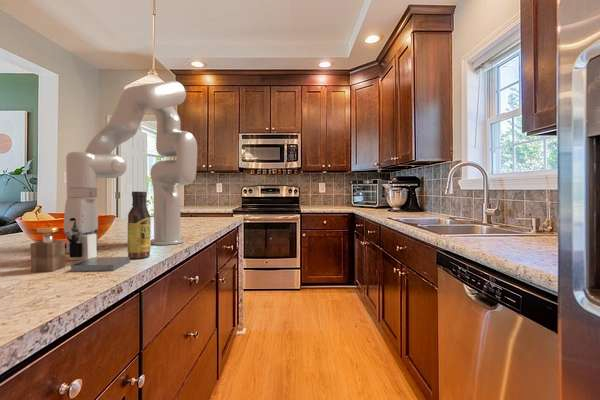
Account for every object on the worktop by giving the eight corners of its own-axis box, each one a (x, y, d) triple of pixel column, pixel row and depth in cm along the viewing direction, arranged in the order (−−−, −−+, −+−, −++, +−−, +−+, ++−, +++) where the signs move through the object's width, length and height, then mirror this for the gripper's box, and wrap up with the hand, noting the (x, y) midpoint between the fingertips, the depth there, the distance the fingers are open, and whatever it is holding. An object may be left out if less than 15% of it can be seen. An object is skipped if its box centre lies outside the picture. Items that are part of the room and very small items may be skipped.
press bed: (92, 262, 91) (92, 257, 91) (130, 262, 92) (129, 256, 92) (70, 271, 81) (70, 265, 81) (113, 270, 82) (113, 264, 82)
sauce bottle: (144, 259, 96) (143, 191, 95) (123, 259, 96) (122, 191, 95) (154, 255, 102) (154, 191, 102) (134, 255, 102) (134, 191, 102)
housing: (79, 256, 100) (78, 233, 100) (96, 256, 100) (96, 233, 100) (69, 260, 95) (69, 235, 95) (87, 260, 95) (87, 235, 95)
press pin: (44, 252, 85) (44, 227, 85) (62, 252, 86) (62, 227, 86) (32, 255, 81) (32, 229, 81) (51, 255, 82) (51, 229, 81)
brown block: (44, 267, 86) (44, 240, 86) (65, 266, 86) (64, 240, 86) (31, 271, 81) (30, 243, 81) (52, 271, 81) (52, 243, 81)
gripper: (85, 194, 105) (85, 249, 106) (49, 194, 88) (50, 261, 89) (109, 194, 106) (110, 249, 107) (79, 194, 89) (80, 260, 89)
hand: (83, 254), depth 98 cm, fingers open, 6 cm apart
